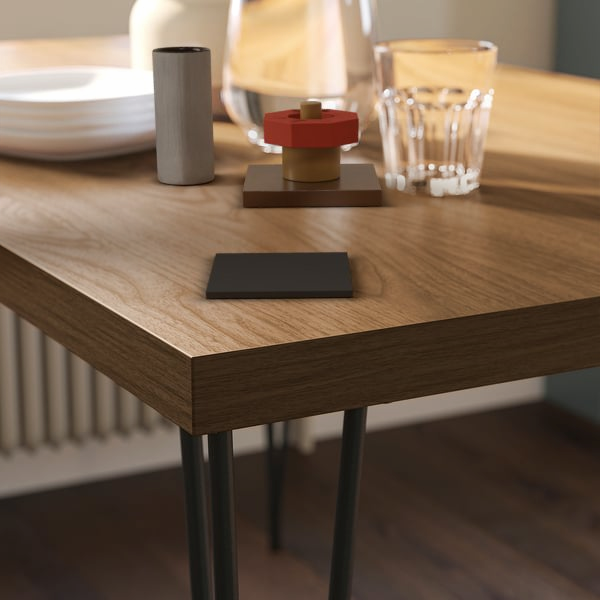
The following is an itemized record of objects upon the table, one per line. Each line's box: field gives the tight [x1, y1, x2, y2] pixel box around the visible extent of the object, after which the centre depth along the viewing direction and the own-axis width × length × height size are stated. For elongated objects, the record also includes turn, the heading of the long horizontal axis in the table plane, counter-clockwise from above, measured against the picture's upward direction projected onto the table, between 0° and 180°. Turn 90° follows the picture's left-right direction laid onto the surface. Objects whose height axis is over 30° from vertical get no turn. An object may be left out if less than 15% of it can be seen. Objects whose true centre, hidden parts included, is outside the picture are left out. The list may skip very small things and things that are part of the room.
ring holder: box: [242, 100, 383, 208], centre depth 89 cm, size 10×10×7 cm
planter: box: [151, 46, 215, 186], centre depth 93 cm, size 4×4×10 cm
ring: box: [263, 108, 360, 148], centre depth 88 cm, size 7×7×2 cm
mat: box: [205, 251, 354, 299], centre depth 68 cm, size 8×8×1 cm
